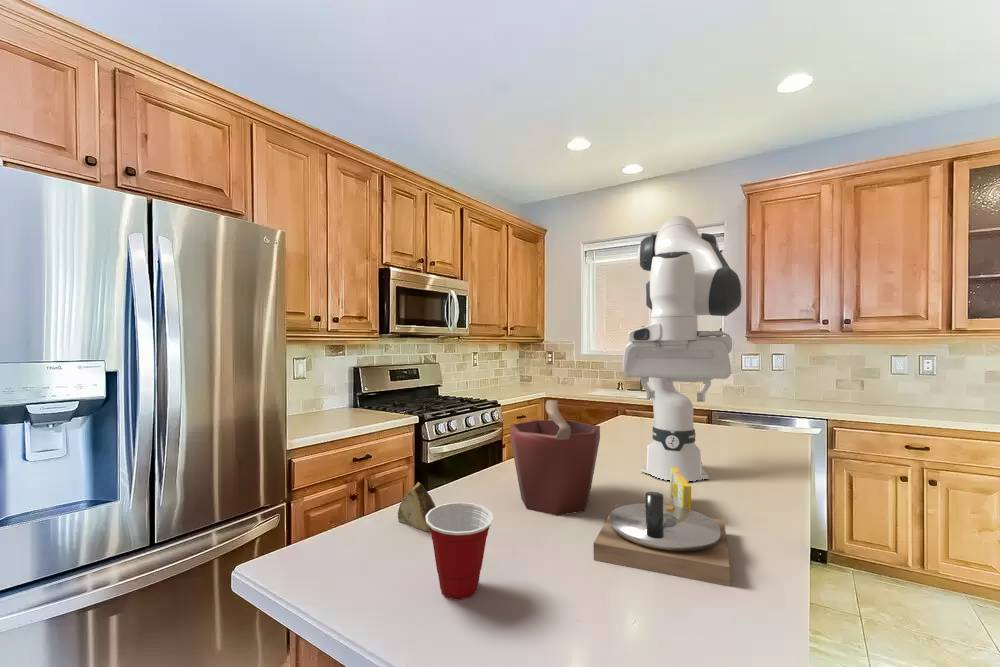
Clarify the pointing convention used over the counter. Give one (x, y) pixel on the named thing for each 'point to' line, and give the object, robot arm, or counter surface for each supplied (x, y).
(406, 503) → the rock
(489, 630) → the counter surface
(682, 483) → the candy box
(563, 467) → the bucket
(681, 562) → the walnut base
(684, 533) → the handwheel
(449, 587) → the plastic cup
